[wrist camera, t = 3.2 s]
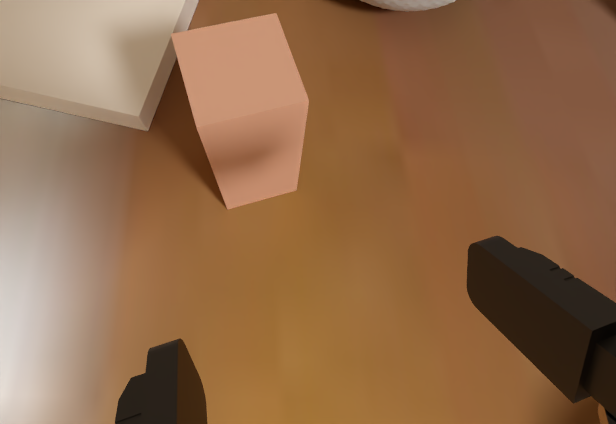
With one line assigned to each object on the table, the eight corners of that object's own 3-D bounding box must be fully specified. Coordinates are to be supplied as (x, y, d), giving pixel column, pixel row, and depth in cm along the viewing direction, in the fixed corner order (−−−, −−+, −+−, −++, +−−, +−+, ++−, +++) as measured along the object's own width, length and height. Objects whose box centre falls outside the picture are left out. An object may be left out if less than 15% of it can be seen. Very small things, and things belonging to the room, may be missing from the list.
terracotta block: (209, 146, 28) (170, 33, 18) (276, 130, 29) (276, 12, 19) (227, 209, 27) (196, 127, 16) (296, 190, 28) (308, 100, 17)
